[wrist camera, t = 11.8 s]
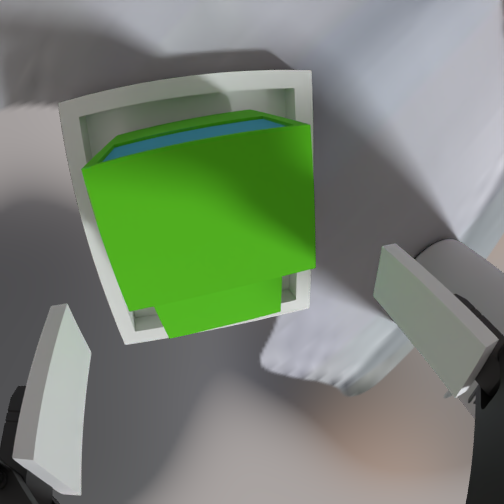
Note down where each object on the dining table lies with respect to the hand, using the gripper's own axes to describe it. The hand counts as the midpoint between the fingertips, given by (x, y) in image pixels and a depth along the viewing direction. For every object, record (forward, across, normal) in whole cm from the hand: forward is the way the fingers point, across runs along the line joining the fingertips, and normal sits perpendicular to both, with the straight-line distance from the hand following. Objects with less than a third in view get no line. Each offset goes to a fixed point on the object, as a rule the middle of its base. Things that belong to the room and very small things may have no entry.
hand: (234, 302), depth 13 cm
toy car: (+11, 0, -1) cm, 11 cm away
